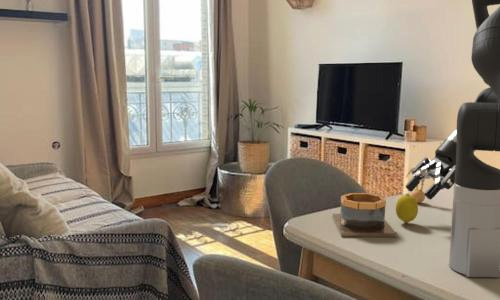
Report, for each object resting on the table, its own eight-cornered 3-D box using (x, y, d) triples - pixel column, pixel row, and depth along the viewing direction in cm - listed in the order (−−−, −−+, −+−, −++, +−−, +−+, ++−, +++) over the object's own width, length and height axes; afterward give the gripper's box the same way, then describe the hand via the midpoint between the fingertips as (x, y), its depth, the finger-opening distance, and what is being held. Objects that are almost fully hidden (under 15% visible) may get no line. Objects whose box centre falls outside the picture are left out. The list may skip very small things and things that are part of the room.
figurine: (402, 202, 150) (404, 163, 148) (407, 198, 155) (409, 160, 153) (430, 206, 146) (432, 166, 144) (435, 201, 151) (437, 163, 149)
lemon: (414, 220, 131) (416, 191, 130) (419, 227, 126) (421, 196, 125) (393, 220, 132) (394, 190, 131) (397, 226, 126) (398, 196, 125)
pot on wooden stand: (395, 237, 118) (397, 206, 117) (341, 236, 119) (342, 206, 117) (380, 217, 134) (381, 190, 133) (332, 217, 134) (333, 190, 133)
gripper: (432, 134, 135) (393, 178, 134) (468, 141, 122) (425, 190, 121) (448, 153, 138) (410, 195, 136) (485, 162, 124) (442, 209, 123)
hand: (417, 193), depth 128 cm, fingers open, 8 cm apart
